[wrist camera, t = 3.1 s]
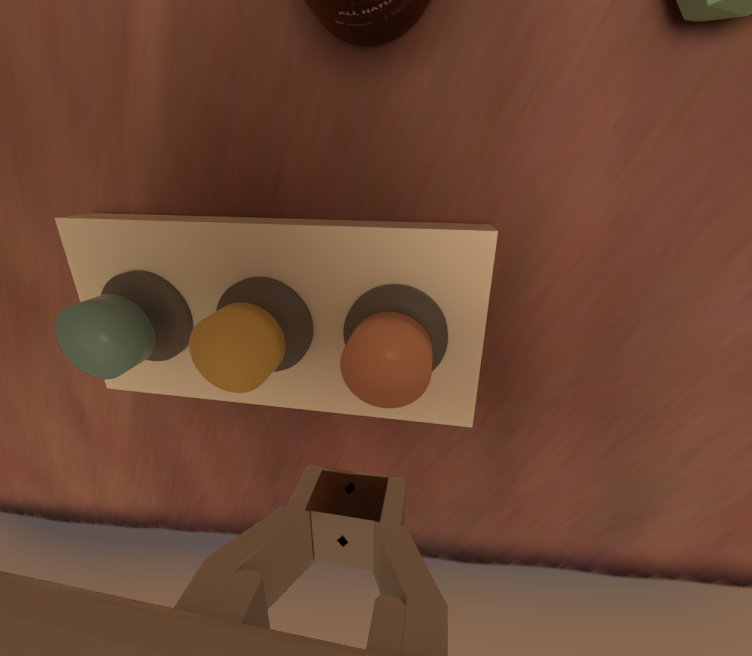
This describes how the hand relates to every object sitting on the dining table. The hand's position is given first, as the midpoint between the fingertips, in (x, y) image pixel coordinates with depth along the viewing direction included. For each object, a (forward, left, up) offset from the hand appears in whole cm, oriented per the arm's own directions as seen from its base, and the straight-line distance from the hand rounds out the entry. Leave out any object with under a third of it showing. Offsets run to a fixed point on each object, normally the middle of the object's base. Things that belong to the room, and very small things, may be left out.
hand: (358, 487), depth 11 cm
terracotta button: (0, 0, -9) cm, 9 cm away
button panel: (-8, 0, -15) cm, 17 cm away
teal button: (-16, 0, -9) cm, 19 cm away
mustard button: (-8, 0, -9) cm, 12 cm away
